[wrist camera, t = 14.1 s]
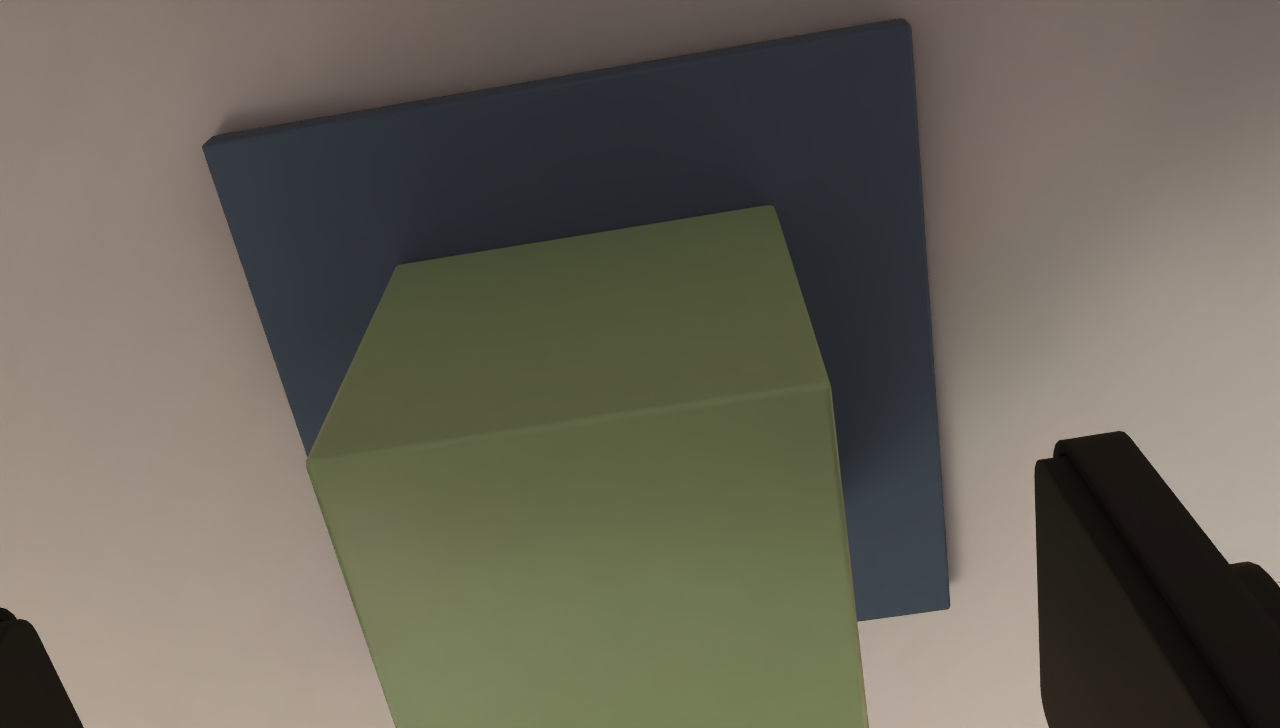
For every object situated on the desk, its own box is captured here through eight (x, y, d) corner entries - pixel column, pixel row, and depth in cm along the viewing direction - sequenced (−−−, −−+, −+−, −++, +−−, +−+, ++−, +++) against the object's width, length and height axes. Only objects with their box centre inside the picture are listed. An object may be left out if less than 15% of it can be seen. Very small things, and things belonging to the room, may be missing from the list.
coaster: (389, 668, 18) (384, 687, 17) (210, 136, 14) (199, 145, 14) (944, 591, 17) (951, 610, 17) (904, 17, 13) (911, 23, 13)
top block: (480, 570, 16) (430, 838, 12) (394, 263, 14) (301, 463, 10) (814, 523, 16) (875, 782, 12) (774, 201, 14) (831, 382, 10)
